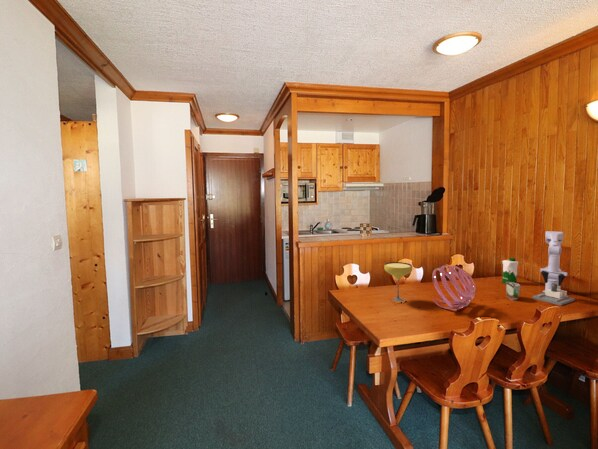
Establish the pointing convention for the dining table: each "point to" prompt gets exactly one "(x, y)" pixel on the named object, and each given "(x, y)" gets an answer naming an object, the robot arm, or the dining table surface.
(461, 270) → the spiral basket
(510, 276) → the milk carton
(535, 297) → the base
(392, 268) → the cocktail glass
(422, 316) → the dining table surface
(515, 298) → the food container
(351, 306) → the dining table surface
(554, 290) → the sliding jaw
